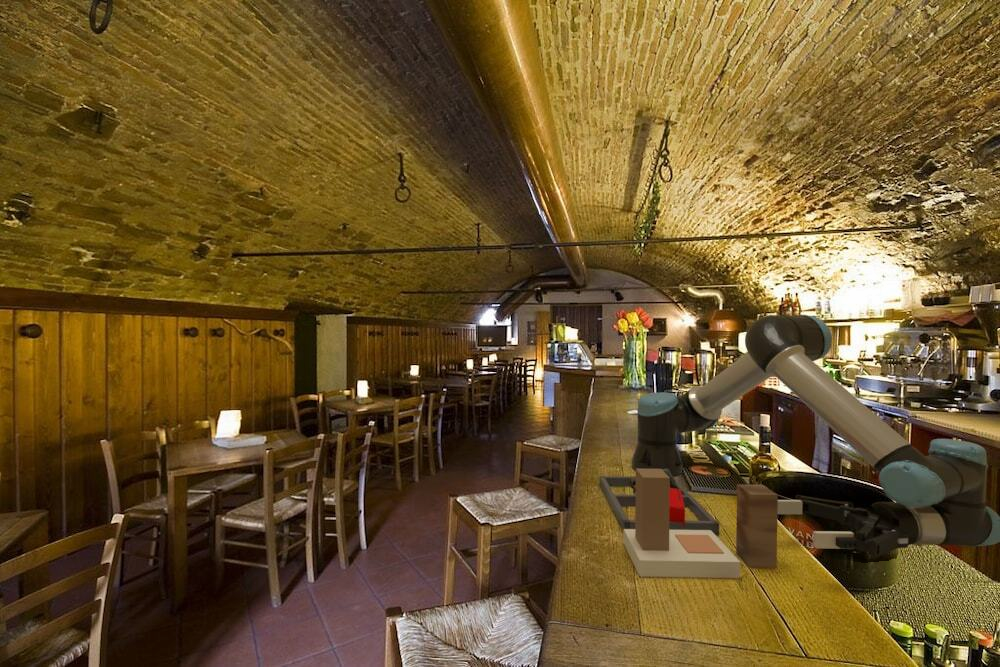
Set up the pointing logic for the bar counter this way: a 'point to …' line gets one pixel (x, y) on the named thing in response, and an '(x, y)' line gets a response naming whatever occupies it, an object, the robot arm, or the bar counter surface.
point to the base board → (671, 538)
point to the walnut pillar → (757, 526)
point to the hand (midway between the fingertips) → (789, 521)
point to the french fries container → (676, 506)
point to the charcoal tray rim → (630, 500)
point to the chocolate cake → (667, 471)
